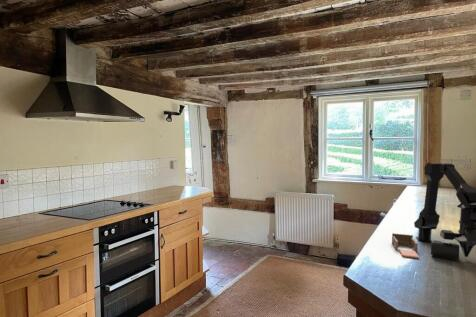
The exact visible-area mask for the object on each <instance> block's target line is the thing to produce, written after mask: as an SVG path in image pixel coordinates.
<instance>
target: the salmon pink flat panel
mask: <svg viewBox="0 0 476 317" xmlns="http://www.w3.org/2000/svg"><path fill="white" fill-rule="evenodd" d="M398 252H399V253H400V254H401V256H402V257H405V258H412V259H413V258H414V259H420V256H419V255H418V252H417V253H416V251H414V250H409V249H402V248H401V249H399V248H398Z"/></svg>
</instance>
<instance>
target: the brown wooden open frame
mask: <svg viewBox="0 0 476 317" xmlns="http://www.w3.org/2000/svg"><path fill="white" fill-rule="evenodd" d="M391 235H392V236H391V245H392V247H393V248H394V249H395V251H398V249H399V246H409V247H411V249H412V251H416V253H417V254H418V248H419V247H418V246H419V244H418V242H417V241H416V240H415V239H414V236H413V234H406V233H405V234H401V233H393V232H392V234H391ZM398 252H399V251H398Z"/></svg>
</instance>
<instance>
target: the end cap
mask: <svg viewBox="0 0 476 317" xmlns="http://www.w3.org/2000/svg"><path fill="white" fill-rule="evenodd" d="M430 243H431V245H430V255H431V257H435V258H440V259H446V260H452V261H458V260H460V244H457V243H455V242H454V243H453V242H443V241H441V240H432V242H430Z"/></svg>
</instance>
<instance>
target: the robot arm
mask: <svg viewBox="0 0 476 317" xmlns="http://www.w3.org/2000/svg"><path fill="white" fill-rule="evenodd" d="M423 168H424V176H425V178H426V180H427V181H426V187H425V188H426V189H425V196H424V206H423V209H422V210H421V211H420V212H419V216H418V218H417V219H416V220H415V221H414V222H413V225H414V228H416V229H418V233H417V236H415V239H416V240H418V242H424V243H425V242H426V243H432V241H433V239H432V230H437V227H438V225H439V223H440V214H439V213H437V211H436V209H437V208H436V207H437V201H438V192H439V186H440V181H441V180H442V179H443V178H444V176H445V177H446V178H447V180H448V181H449V183H450V184H451V185H452V186H453V188H454V190H455V191H456V192H455V196H456V197H457V200H458V201H459V203H460V204H458V205H457V208H459V209H460V213H459V214H460V215H459V220H458V223H459V228H458V231H457V232H458V233H457V232H453V231H452V230H450V229H449V230H447V229H442V230H440V233H439V236H440V237H441V238H442V239H444V240H448V241H449V240H450V241H453V240H455V241H457V242H458V243H459V244H458V245H459V247H460V248H461V251H462V253H463V256H464V258H468V257H469V255H470V253H471V252H472V249H473V248H475V246H476V188H475V186H471V185H470V184H469V183H468V182H466V180H465V179H464V178H463V176H462V175H461V174H460V173H459V171H458V170H457V169H456V167H455V164H452V163H444V162H443V163H442V162H427V163H426V164H425V165H424V167H423Z"/></svg>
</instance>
